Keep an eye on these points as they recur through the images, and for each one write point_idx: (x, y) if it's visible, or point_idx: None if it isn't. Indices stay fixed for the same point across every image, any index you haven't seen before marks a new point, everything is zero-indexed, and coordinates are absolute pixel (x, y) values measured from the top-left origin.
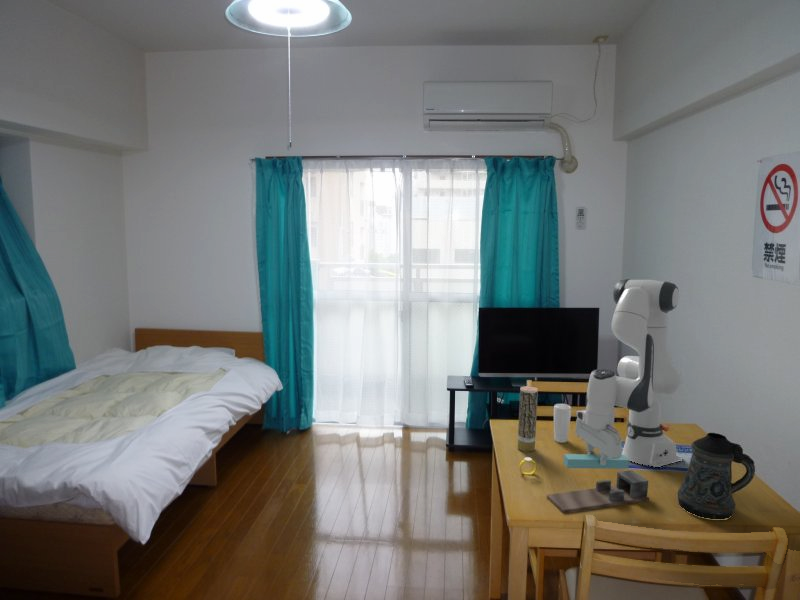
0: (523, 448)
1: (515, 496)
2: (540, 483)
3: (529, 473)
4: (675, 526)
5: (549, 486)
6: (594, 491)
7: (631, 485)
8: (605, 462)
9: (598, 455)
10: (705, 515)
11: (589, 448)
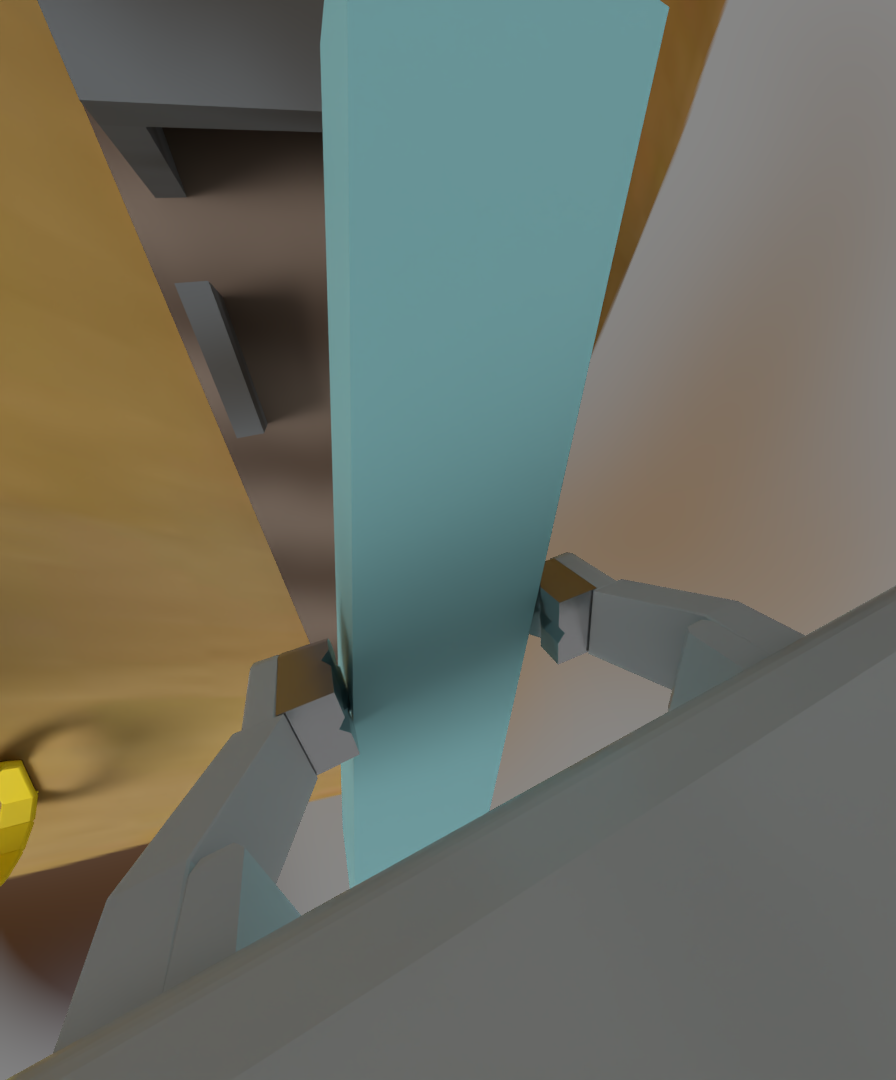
0: None
1: (324, 781)
2: (159, 712)
3: (8, 777)
4: (657, 113)
5: (194, 673)
6: (274, 448)
7: None
8: (584, 565)
9: (397, 620)
10: None
11: (282, 820)
